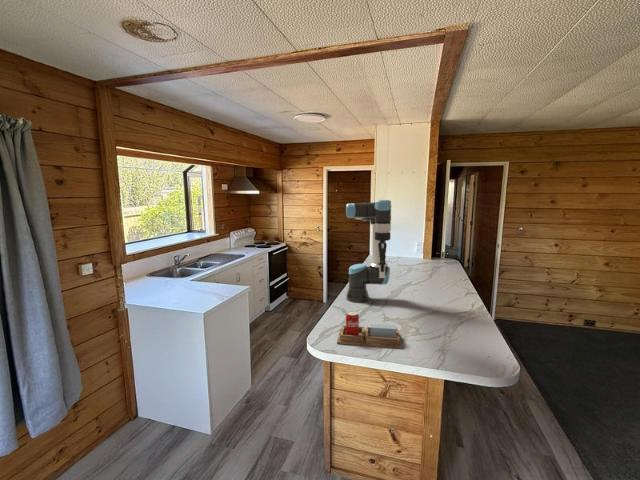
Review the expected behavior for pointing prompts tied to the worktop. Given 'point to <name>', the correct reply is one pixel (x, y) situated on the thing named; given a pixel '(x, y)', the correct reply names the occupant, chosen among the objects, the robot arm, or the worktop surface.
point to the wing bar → (383, 331)
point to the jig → (368, 339)
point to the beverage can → (352, 323)
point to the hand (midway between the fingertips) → (381, 274)
